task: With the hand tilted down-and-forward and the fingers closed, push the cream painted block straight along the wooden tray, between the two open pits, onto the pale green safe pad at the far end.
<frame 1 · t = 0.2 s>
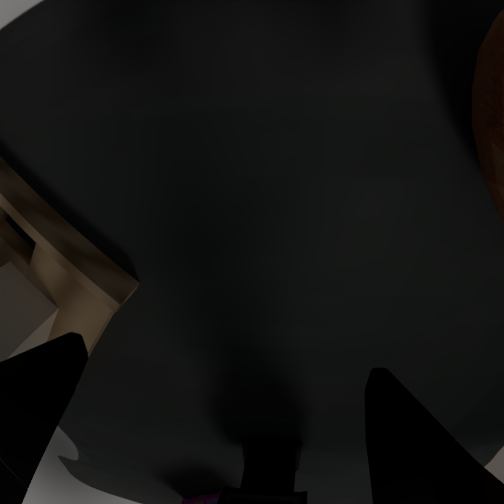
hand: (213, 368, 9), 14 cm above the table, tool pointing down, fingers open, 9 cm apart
wooden tray: (20, 275, 27), on the table
candy bar box: (214, 498, 40), on the table
cream block: (27, 303, 26), point 2 cm above the table, touching wooden tray
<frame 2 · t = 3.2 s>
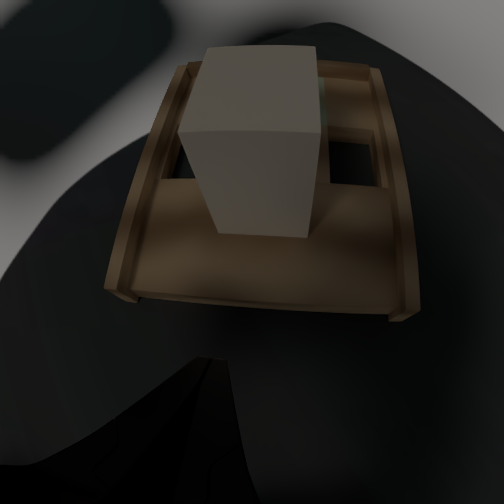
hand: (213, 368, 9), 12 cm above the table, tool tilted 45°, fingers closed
wooden tray: (271, 174, 26), on the table
cream block: (266, 191, 23), point 2 cm above the table, touching wooden tray
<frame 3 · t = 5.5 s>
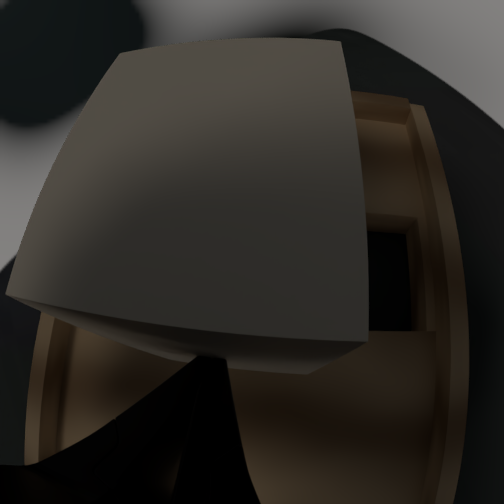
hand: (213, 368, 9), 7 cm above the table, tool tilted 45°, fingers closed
wooden tray: (252, 293, 17), on the table
cream block: (245, 291, 15), point 2 cm above the table, touching wooden tray
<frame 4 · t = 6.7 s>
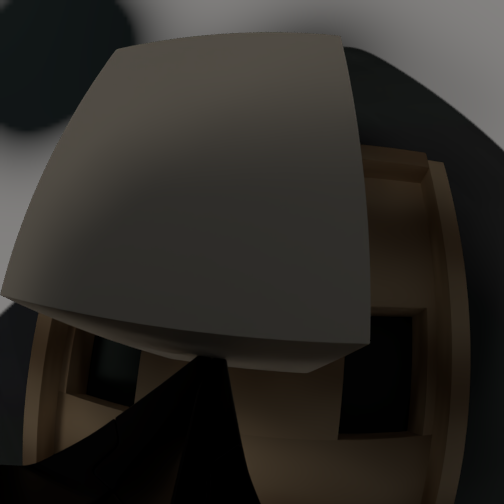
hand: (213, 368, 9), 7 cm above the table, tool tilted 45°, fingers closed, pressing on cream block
wooden tray: (241, 388, 15), on the table
cream block: (245, 289, 15), point 2 cm above the table, touching gripper, wooden tray
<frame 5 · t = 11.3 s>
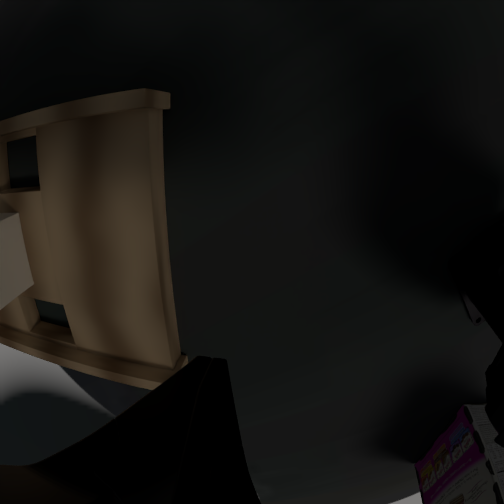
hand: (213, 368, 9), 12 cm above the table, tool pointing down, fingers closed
wooden tray: (48, 240, 22), on the table
candy bar box: (453, 434, 25), on the table
cream block: (1, 247, 21), point 2 cm above the table, touching wooden tray
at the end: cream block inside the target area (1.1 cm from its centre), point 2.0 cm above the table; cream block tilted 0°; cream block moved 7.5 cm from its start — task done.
